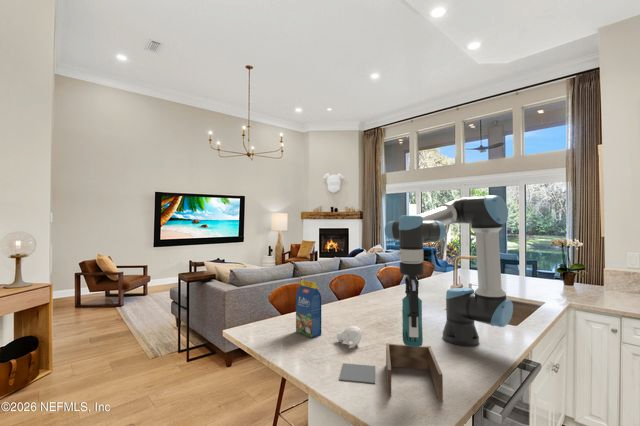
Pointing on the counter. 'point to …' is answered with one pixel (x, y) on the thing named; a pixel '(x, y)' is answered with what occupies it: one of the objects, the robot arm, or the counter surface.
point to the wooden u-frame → (414, 363)
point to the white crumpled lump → (350, 336)
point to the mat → (358, 373)
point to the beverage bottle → (406, 339)
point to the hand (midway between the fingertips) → (412, 332)
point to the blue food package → (308, 309)
